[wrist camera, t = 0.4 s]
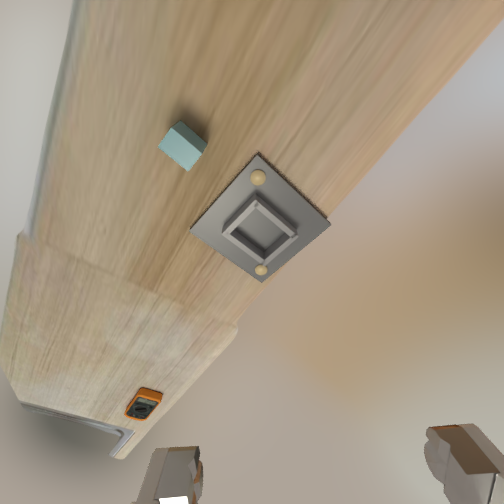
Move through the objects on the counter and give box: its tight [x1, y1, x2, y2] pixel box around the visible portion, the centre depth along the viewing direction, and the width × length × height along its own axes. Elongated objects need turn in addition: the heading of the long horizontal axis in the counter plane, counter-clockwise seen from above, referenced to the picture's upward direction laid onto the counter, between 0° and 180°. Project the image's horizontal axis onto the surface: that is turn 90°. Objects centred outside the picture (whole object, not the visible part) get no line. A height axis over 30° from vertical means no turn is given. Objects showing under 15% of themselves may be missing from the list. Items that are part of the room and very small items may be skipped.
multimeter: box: [124, 388, 162, 421], centre depth 100 cm, size 9×18×3 cm, turn 148°
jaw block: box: [158, 120, 207, 171], centre depth 48 cm, size 4×6×7 cm, turn 48°
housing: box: [189, 154, 331, 283], centre depth 59 cm, size 22×22×4 cm
